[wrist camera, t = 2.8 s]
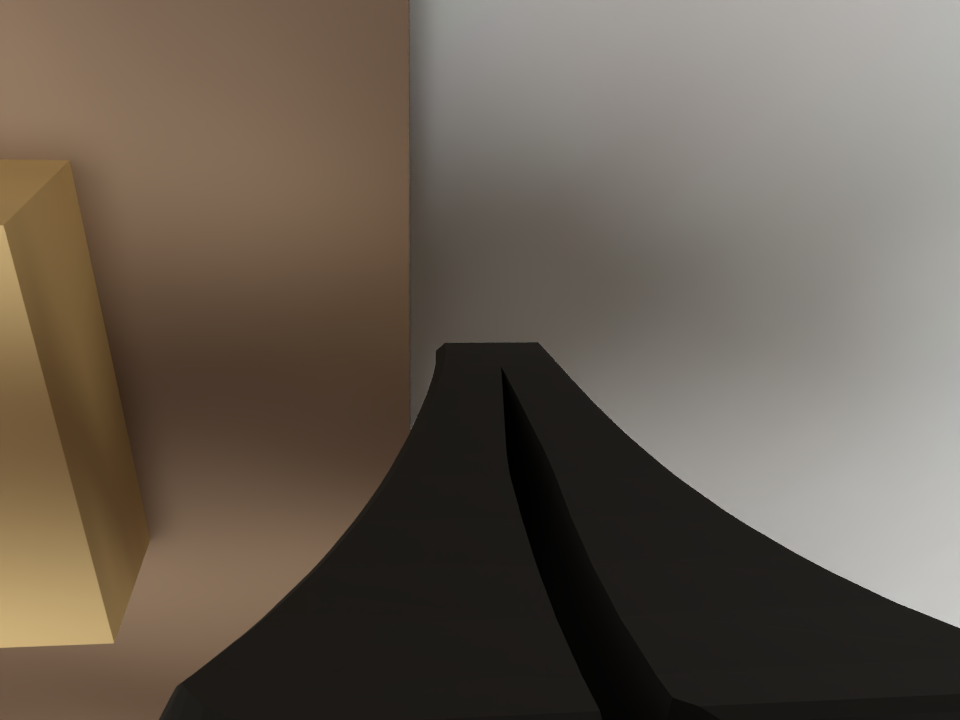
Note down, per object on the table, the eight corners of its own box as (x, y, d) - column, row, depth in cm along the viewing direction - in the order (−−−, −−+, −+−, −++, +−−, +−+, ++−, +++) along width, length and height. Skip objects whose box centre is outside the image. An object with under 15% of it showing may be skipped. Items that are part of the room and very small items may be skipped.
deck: (410, 756, 19) (411, 822, 18) (-66, 781, 18) (-101, 853, 17) (405, -463, 9) (406, -514, 7) (-707, -550, 8) (-925, -627, 6)
